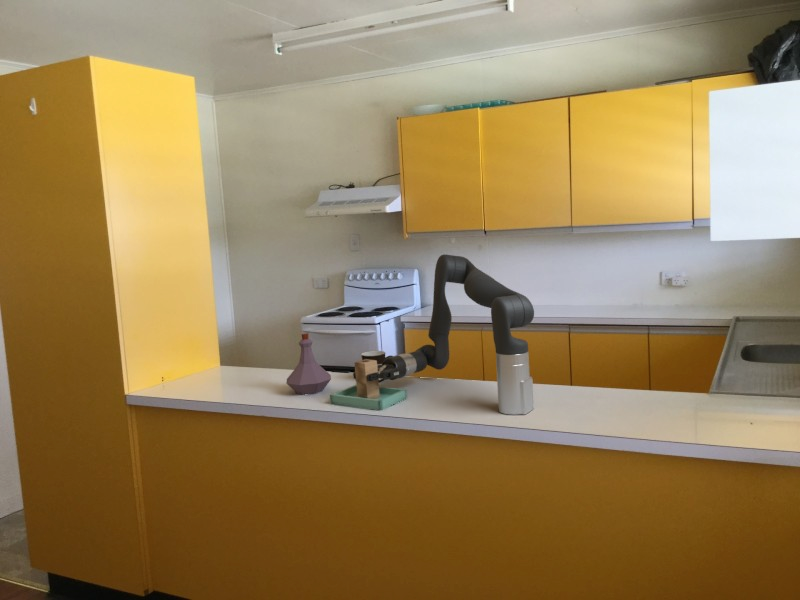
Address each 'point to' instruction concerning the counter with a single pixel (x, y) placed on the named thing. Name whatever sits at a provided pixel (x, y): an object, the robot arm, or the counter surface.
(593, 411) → the counter surface
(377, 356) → the coffee mug
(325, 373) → the flask
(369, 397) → the tan wooden tall block
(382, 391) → the green tray
